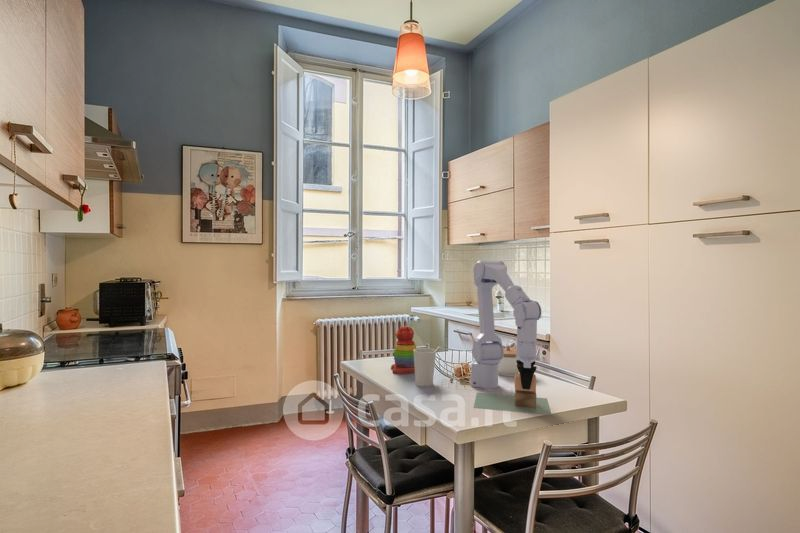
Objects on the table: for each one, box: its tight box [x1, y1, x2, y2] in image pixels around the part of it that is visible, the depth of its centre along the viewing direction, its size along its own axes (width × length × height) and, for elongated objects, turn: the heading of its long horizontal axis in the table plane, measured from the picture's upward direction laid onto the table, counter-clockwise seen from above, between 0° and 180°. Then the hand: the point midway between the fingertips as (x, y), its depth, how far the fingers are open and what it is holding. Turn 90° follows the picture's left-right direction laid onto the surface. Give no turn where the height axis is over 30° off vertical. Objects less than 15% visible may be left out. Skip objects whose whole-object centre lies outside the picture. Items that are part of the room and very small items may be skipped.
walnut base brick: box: [514, 389, 537, 408], centre depth 137 cm, size 6×4×4 cm
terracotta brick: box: [514, 373, 537, 393], centre depth 137 cm, size 6×4×4 cm
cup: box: [413, 347, 437, 387], centre depth 161 cm, size 8×8×12 cm
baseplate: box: [473, 392, 553, 416], centre depth 139 cm, size 22×16×1 cm
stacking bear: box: [390, 325, 418, 375], centre depth 180 cm, size 11×10×18 cm
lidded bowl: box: [498, 345, 519, 377], centre depth 178 cm, size 13×13×11 cm
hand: (525, 386), depth 137 cm, fingers open, 4 cm apart
